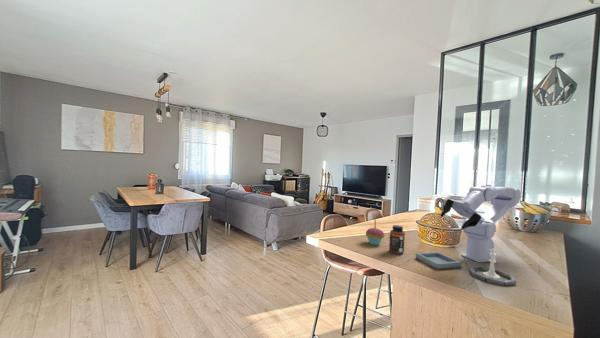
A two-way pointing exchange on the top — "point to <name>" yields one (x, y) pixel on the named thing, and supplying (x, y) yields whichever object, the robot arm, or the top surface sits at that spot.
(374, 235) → the cupcake
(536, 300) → the top surface
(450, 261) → the tray
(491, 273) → the chess piece
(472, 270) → the collar
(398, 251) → the supplement bottle
